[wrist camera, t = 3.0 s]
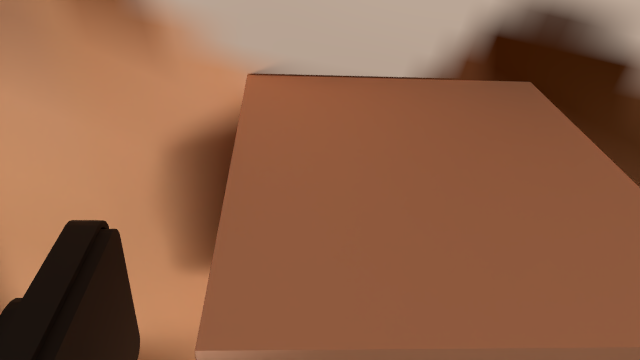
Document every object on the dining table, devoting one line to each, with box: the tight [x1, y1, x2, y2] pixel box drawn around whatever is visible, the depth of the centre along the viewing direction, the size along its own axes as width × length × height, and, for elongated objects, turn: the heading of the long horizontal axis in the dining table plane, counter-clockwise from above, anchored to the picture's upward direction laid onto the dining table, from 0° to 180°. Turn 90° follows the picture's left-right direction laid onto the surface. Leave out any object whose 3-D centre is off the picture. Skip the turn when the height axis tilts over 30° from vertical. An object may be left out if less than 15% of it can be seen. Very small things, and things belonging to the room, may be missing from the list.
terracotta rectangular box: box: [195, 74, 640, 360], centre depth 9 cm, size 5×7×6 cm
